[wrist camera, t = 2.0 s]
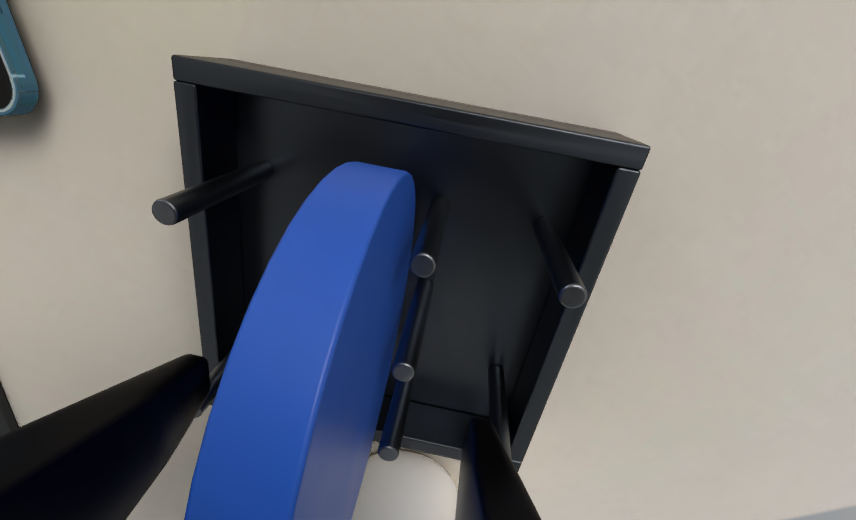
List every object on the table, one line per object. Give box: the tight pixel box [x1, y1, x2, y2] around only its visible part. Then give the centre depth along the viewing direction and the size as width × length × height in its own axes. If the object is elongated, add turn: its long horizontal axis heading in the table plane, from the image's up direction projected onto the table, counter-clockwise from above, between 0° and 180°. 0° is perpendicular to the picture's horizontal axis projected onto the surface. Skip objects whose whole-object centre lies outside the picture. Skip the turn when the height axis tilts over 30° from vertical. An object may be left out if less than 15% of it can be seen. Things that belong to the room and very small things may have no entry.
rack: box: [152, 55, 650, 472], centre depth 12 cm, size 12×12×5 cm
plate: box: [184, 162, 415, 520], centre depth 9 cm, size 1×10×10 cm, turn 170°
